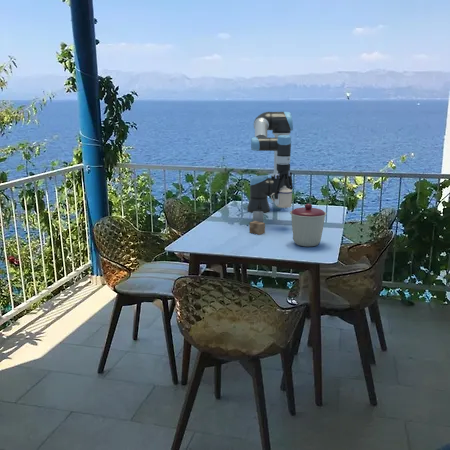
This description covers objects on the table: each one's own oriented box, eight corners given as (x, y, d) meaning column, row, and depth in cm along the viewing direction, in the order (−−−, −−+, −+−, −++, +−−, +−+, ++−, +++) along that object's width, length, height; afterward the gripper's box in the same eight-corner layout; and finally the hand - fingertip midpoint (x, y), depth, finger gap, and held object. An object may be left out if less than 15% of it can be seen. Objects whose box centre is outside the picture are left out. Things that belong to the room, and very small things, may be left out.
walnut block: (249, 232, 262) (249, 222, 260) (255, 231, 265) (255, 220, 264) (259, 235, 257) (259, 224, 256) (264, 233, 261) (265, 223, 259)
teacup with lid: (293, 205, 270) (293, 185, 267) (290, 208, 261) (291, 187, 258) (272, 203, 273) (273, 183, 270) (269, 207, 265) (269, 186, 262)
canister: (300, 237, 253) (302, 198, 248) (331, 243, 242) (333, 203, 237) (282, 244, 240) (283, 204, 234) (313, 251, 228) (315, 209, 223)
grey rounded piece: (250, 225, 278) (250, 212, 276) (257, 223, 283) (257, 210, 281) (258, 227, 274) (258, 213, 272) (265, 225, 279) (265, 211, 277)
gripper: (277, 166, 251) (275, 207, 257) (300, 162, 267) (298, 201, 272) (265, 164, 256) (265, 205, 262) (289, 161, 272) (288, 199, 277)
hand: (282, 203), depth 267 cm, fingers closed on teacup with lid, 9 cm apart
